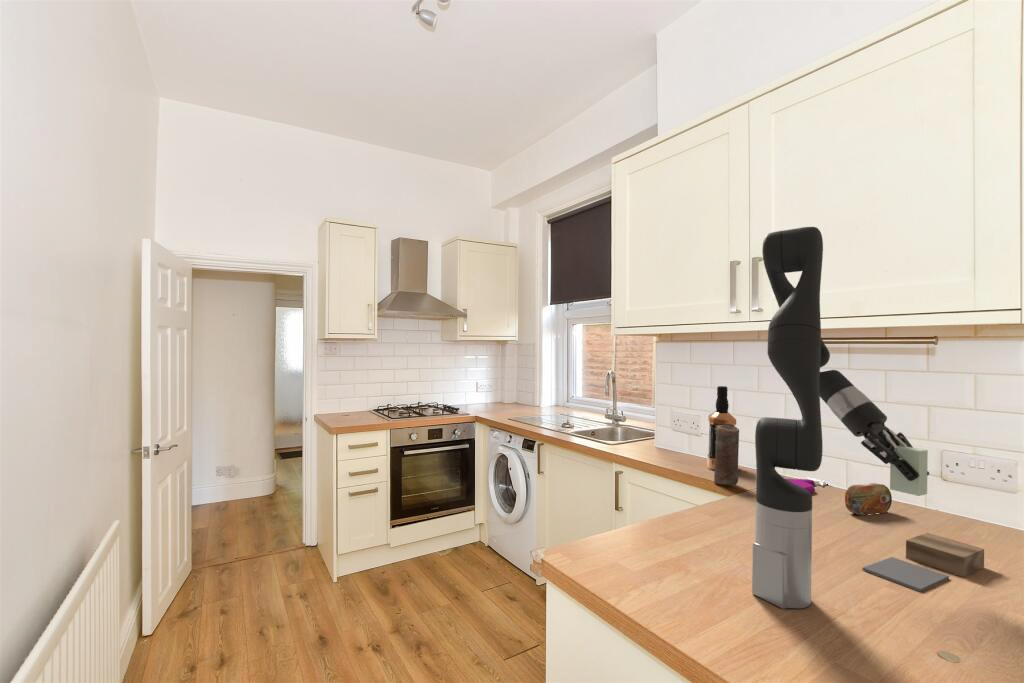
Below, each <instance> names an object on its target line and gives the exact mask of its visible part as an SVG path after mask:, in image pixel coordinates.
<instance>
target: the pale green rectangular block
mask: <svg viewBox="0 0 1024 683" xmlns="http://www.w3.org/2000/svg"><path fill="white" fill-rule="evenodd" d="M897 447H898V448H897V451H898V452H899V453H900V454H901V455H902V457H903V458H904V460H906V461H907V462H908V463H909V464H910V465H911V466H912V467H913V468H914V469H915V470H916V471H917V472H918V473H919V475H920V476H919V477H918V478H916V479H915V480H913V481H909V480H908V479H907V478H906V477H905V476H904V475H903V474H902V473H901V472H900V471H899V470H898V469H897V468H896V467H895V466H892V465H891V464H890V463H889V464H890V465H889V477H890V478H889V490H890V491H896V492H898V493H899V492H900V493H905V494H908V495H912V496H917V497H920V496H925V495H928V476H927V471H928V461H929V460H928V449H924V448H923V449H922V448H917V447H913V448H911V447H904V446H897Z"/></svg>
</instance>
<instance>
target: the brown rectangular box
mask: <svg viewBox="0 0 1024 683" xmlns="http://www.w3.org/2000/svg"><path fill="white" fill-rule="evenodd" d="M905 558H906V559H909V560H911V561H914V562H918V563H920V564H923V565H926V566H930V567H932V568H935V569H938V570H941V571H944V572H948V573H950V574H953V575H956V576H959V577H963V578H964V577H968V576H969V575H971V574H974V573H975V572H978V571H980V570H982V569H984V568H985V548H983V547H978V546H975V545H972V544H968V543H964V542H961V541H957V540H954V539H950V538H947V537H943V536H940V535H936V534H934V533H929V532H925V533H923V534H919V535H916V536H914V537H911V538H908V539H906V540H905Z"/></svg>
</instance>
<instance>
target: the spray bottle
mask: <svg viewBox="0 0 1024 683" xmlns="http://www.w3.org/2000/svg"><path fill="white" fill-rule="evenodd" d="M785 479H786V480H788V481H790V482H792V483H794V484H796V485H798V486H800V487H802V488H804V489H806V490H807V491H809V492H810V494H811V495H812V493H813V494H814V493H816V492H815V491H816V489H815V485H816V486H822V487H824V486H827V485H826V483H825V482H824V481H825V480H823V481H821V480H822V479H818V480H817V478H812V477H806V478H804V479H803V478H800V479H799V478H796V479H795V478H785Z"/></svg>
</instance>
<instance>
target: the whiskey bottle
mask: <svg viewBox="0 0 1024 683" xmlns="http://www.w3.org/2000/svg"><path fill="white" fill-rule="evenodd" d="M716 389H717V390H716V392H717V393H716V396H717V398H716V400H715V411H714V412H712V413H711V414H709V415H708V417H707V420H708V423H709V431H708V433H709V434H708V453H707V457H706V458H707V459H706V464H707V467H708V468H707V469H709V470H713V471H715V453H716V429H717V426H718V425H729V426H734V427H736V425H737V418H735V417H734V416H733V415H732V414H731V413H730V412H729V407H730V406H729V400H728V391H729V390H728V386H726V385H725V386H724V385H718V386H717V387H716Z"/></svg>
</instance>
